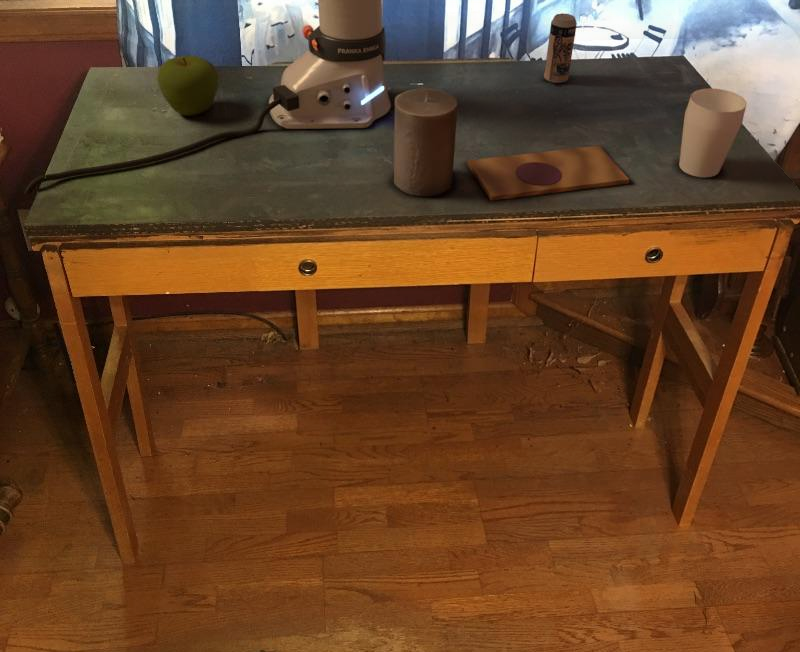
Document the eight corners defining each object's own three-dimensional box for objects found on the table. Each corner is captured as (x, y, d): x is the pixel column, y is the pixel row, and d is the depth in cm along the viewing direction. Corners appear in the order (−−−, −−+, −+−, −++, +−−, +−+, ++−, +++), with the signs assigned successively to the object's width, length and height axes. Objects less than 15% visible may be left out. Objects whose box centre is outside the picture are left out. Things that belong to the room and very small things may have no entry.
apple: (196, 130, 152) (187, 75, 145) (150, 116, 155) (140, 61, 148) (234, 107, 159) (227, 53, 152) (189, 94, 162) (181, 41, 155)
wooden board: (490, 200, 136) (491, 195, 136) (467, 164, 145) (467, 159, 144) (628, 183, 141) (629, 178, 140) (598, 149, 149) (599, 144, 149)
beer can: (552, 86, 168) (561, 23, 160) (538, 77, 171) (547, 14, 163) (572, 82, 170) (582, 19, 161) (558, 72, 173) (567, 11, 164)
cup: (728, 184, 141) (750, 115, 133) (672, 178, 143) (690, 109, 134) (724, 158, 148) (745, 91, 140) (671, 152, 149) (688, 85, 141)
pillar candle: (456, 171, 143) (463, 83, 132) (446, 201, 136) (452, 110, 126) (399, 164, 144) (401, 76, 134) (387, 193, 137) (388, 103, 127)
